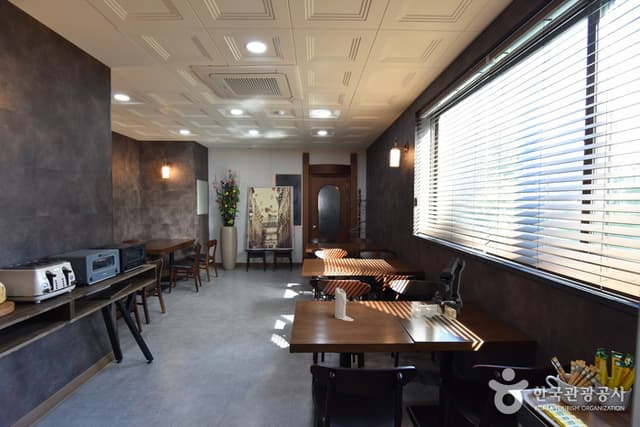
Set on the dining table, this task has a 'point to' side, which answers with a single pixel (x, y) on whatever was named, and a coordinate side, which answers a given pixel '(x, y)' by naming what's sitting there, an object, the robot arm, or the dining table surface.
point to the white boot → (341, 305)
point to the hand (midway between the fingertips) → (446, 313)
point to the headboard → (425, 310)
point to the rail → (447, 312)
